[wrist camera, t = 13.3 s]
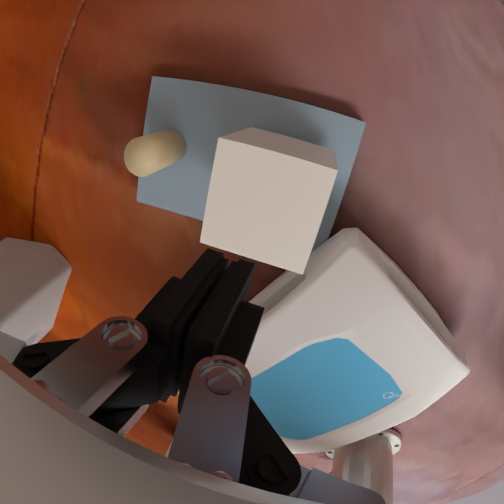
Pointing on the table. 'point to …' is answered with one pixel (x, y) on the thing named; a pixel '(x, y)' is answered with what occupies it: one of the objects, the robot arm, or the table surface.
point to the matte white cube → (268, 197)
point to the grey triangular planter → (30, 288)
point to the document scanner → (348, 348)
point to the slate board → (220, 124)
